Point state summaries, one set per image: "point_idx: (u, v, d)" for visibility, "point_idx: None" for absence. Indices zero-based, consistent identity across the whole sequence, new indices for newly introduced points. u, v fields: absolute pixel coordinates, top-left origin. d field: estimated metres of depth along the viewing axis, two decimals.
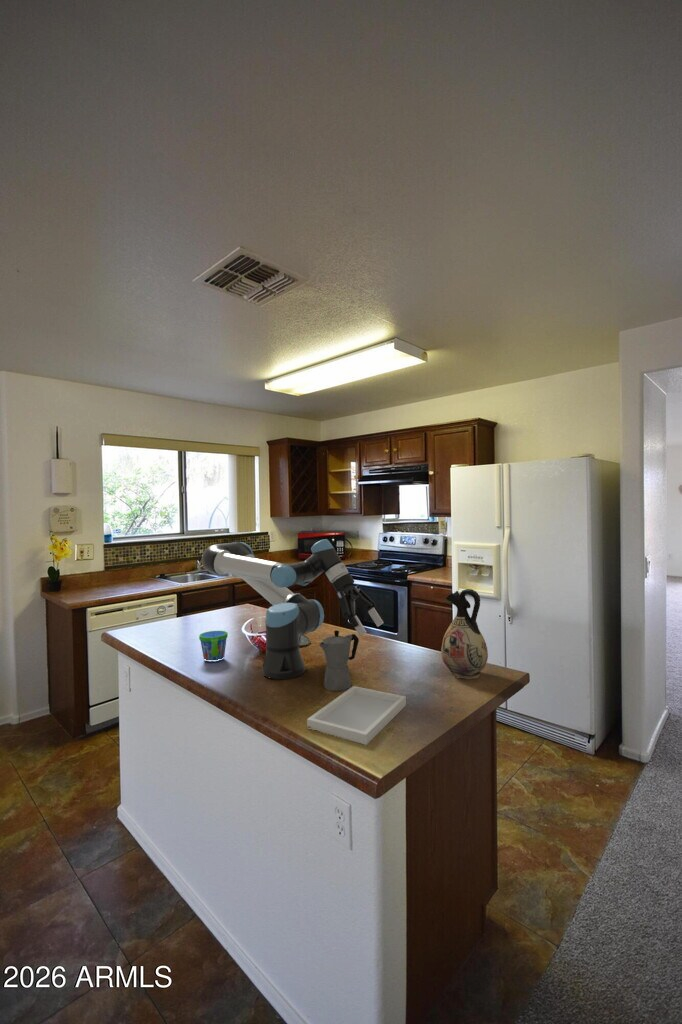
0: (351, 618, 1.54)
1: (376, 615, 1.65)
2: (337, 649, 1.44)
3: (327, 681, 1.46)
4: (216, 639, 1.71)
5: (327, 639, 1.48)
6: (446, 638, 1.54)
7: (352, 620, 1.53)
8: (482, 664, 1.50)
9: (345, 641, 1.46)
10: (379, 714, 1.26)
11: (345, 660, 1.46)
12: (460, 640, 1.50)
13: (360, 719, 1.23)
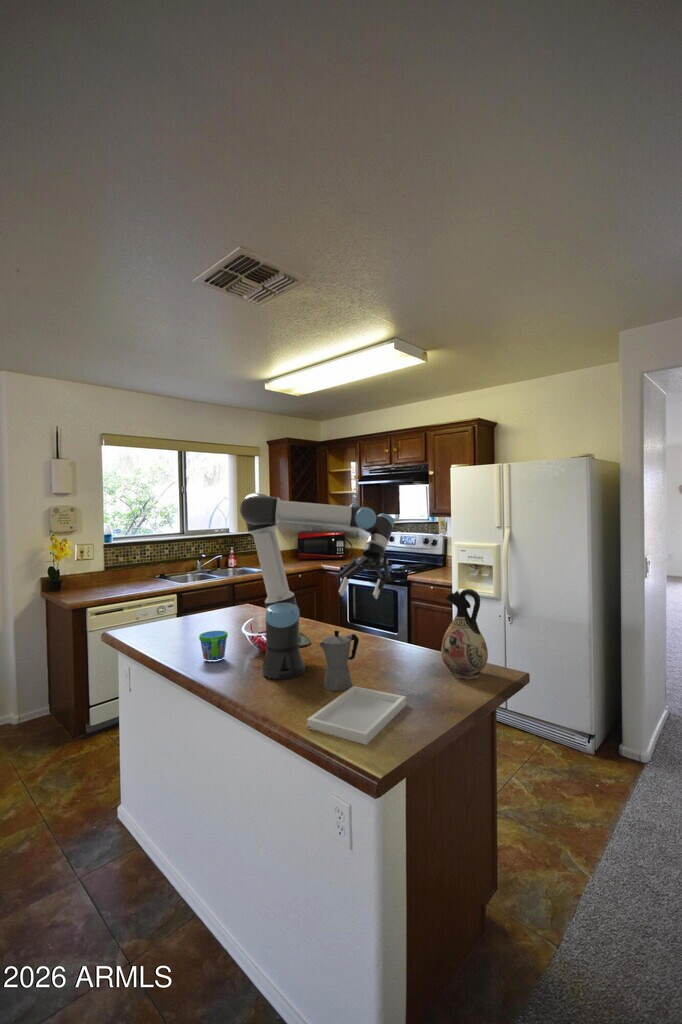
0: (384, 582, 1.59)
1: (345, 587, 1.66)
2: (337, 649, 1.44)
3: (327, 681, 1.46)
4: (216, 639, 1.71)
5: (327, 639, 1.48)
6: (446, 638, 1.54)
7: (383, 583, 1.59)
8: (482, 664, 1.50)
9: (345, 641, 1.46)
10: (379, 714, 1.26)
11: (345, 660, 1.46)
12: (460, 640, 1.50)
13: (360, 719, 1.23)
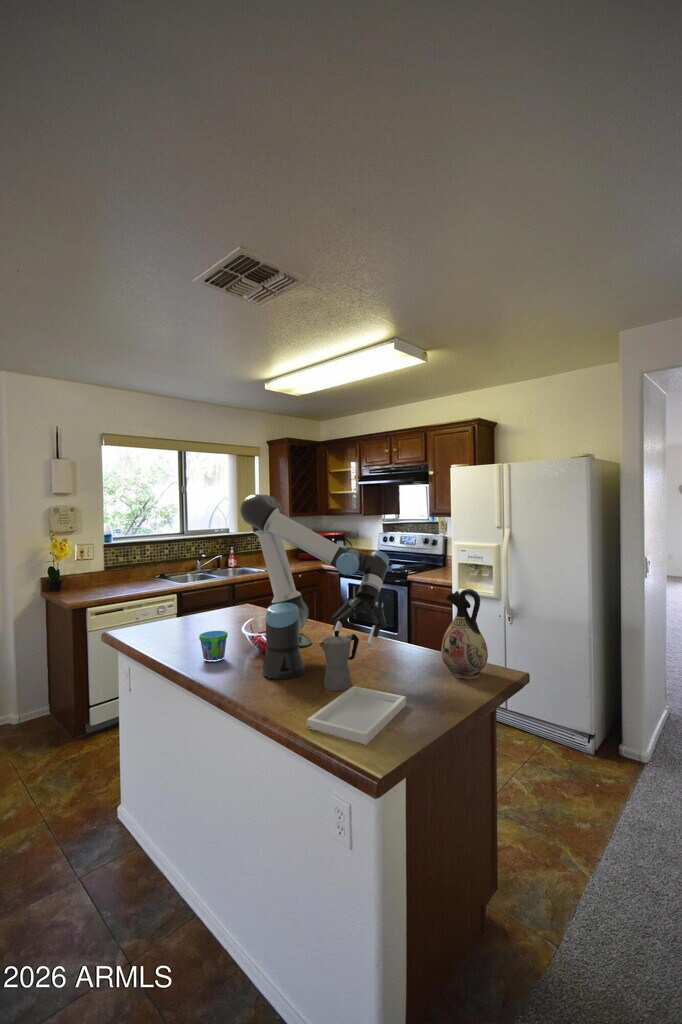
0: (379, 628, 1.52)
1: None
2: (337, 649, 1.44)
3: (327, 681, 1.46)
4: (216, 639, 1.71)
5: (327, 639, 1.48)
6: (446, 638, 1.54)
7: (378, 630, 1.52)
8: (482, 664, 1.50)
9: (345, 641, 1.46)
10: (379, 714, 1.26)
11: (345, 660, 1.46)
12: (460, 640, 1.50)
13: (360, 719, 1.23)
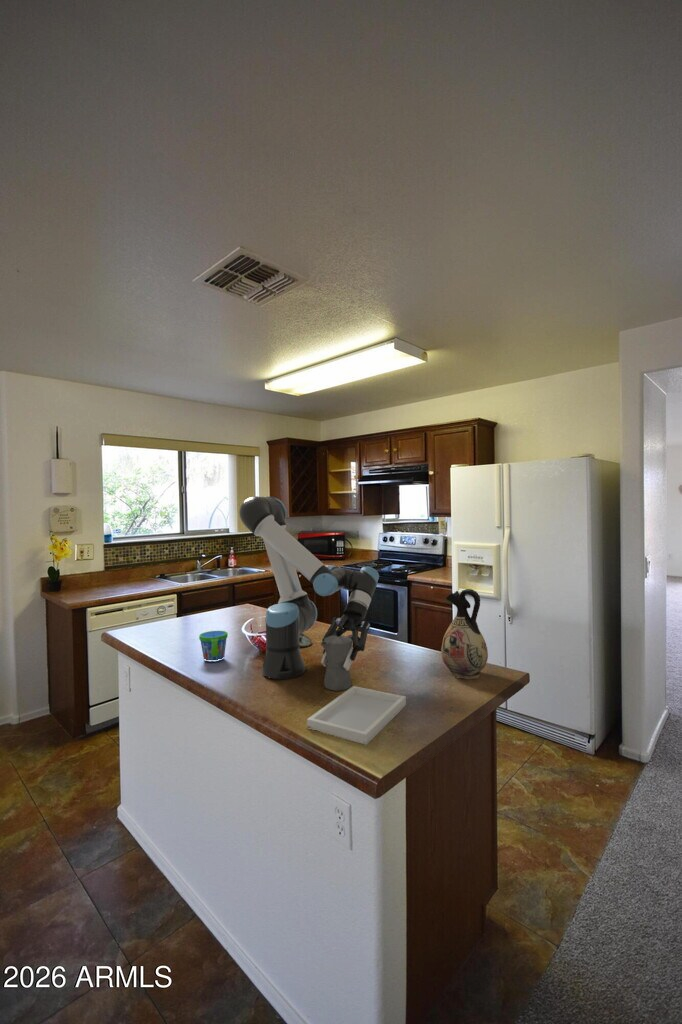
0: (356, 651, 1.47)
1: None
2: (339, 649, 1.44)
3: (327, 680, 1.46)
4: (216, 639, 1.71)
5: (329, 638, 1.47)
6: (446, 638, 1.54)
7: (356, 653, 1.47)
8: (482, 664, 1.50)
9: (347, 641, 1.46)
10: (379, 714, 1.26)
11: None
12: (460, 640, 1.50)
13: (360, 719, 1.23)
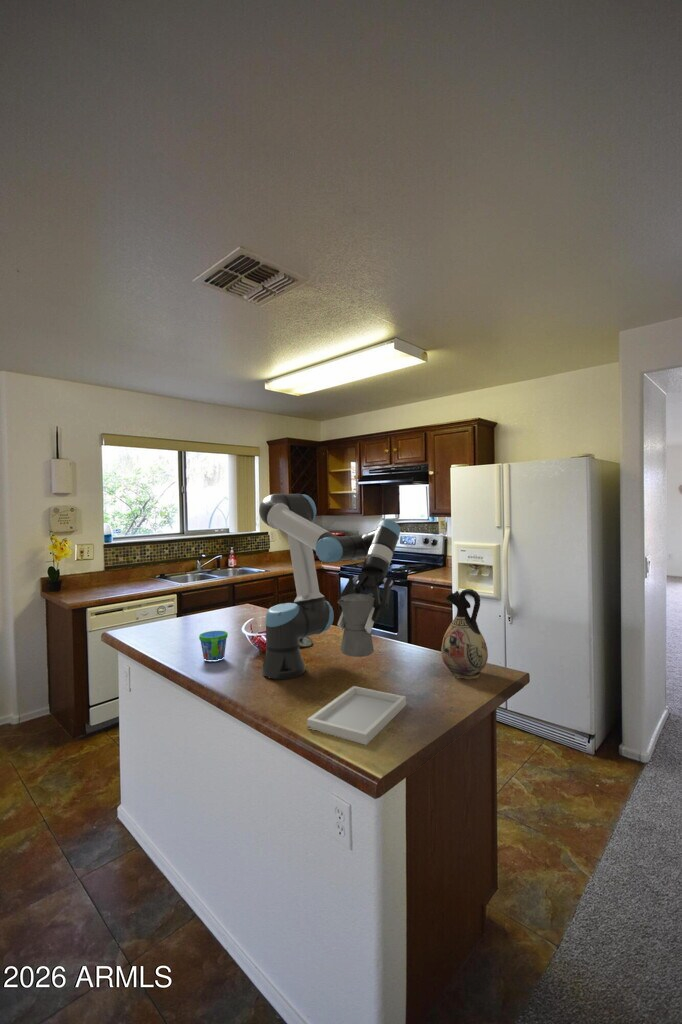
0: (379, 611, 1.25)
1: None
2: (359, 607, 1.22)
3: (346, 645, 1.24)
4: (216, 639, 1.71)
5: (347, 596, 1.25)
6: (446, 638, 1.54)
7: (378, 613, 1.25)
8: (482, 664, 1.50)
9: (368, 599, 1.24)
10: (379, 714, 1.26)
11: None
12: (460, 640, 1.50)
13: (360, 719, 1.23)
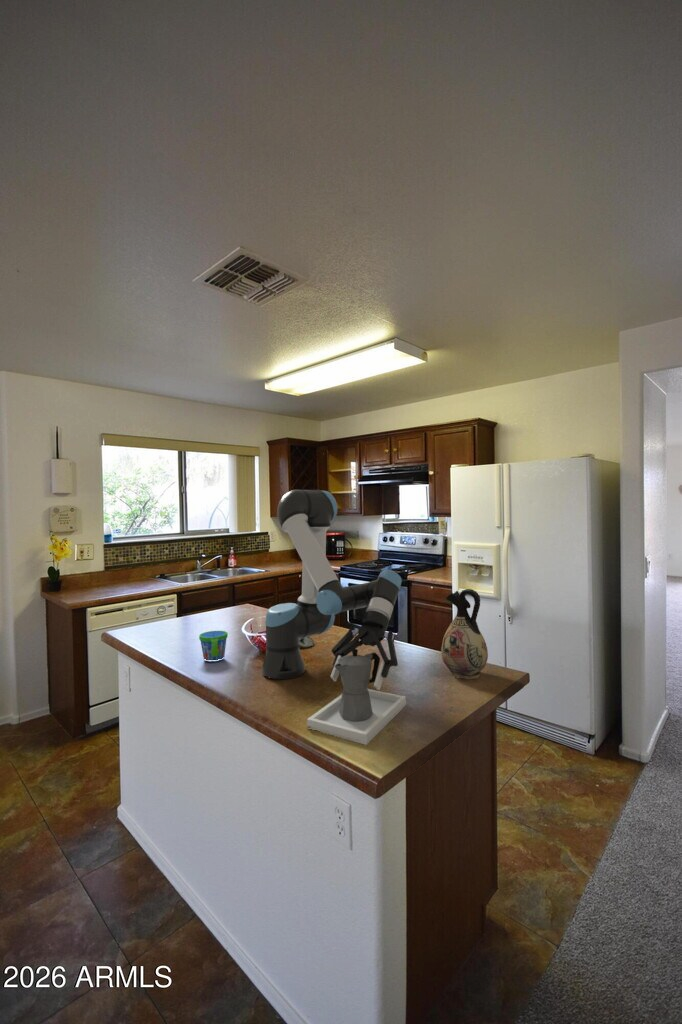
0: (389, 666, 1.24)
1: None
2: (357, 671, 1.22)
3: (344, 709, 1.23)
4: (216, 639, 1.71)
5: (344, 659, 1.25)
6: (446, 638, 1.54)
7: (388, 669, 1.24)
8: (482, 664, 1.50)
9: (365, 662, 1.23)
10: (379, 714, 1.26)
11: (365, 684, 1.24)
12: (460, 640, 1.50)
13: None
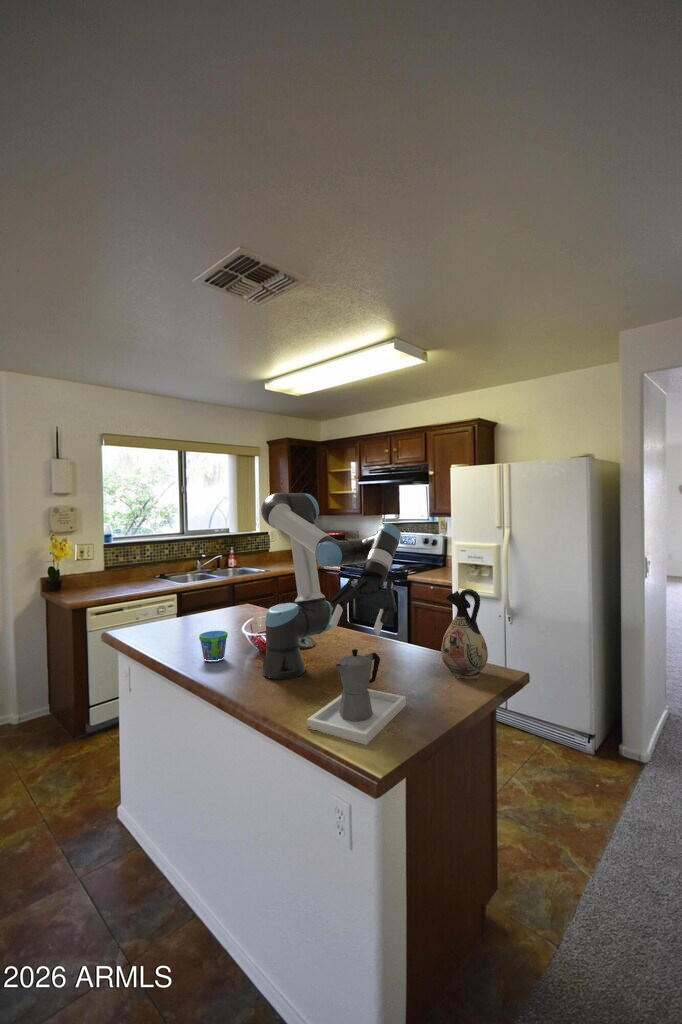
0: (388, 613, 1.24)
1: (338, 617, 1.30)
2: (357, 671, 1.22)
3: (344, 709, 1.23)
4: (216, 639, 1.71)
5: (344, 659, 1.25)
6: (446, 638, 1.54)
7: (387, 615, 1.24)
8: (482, 664, 1.50)
9: (365, 662, 1.23)
10: (379, 714, 1.26)
11: (365, 684, 1.24)
12: (460, 640, 1.50)
13: None
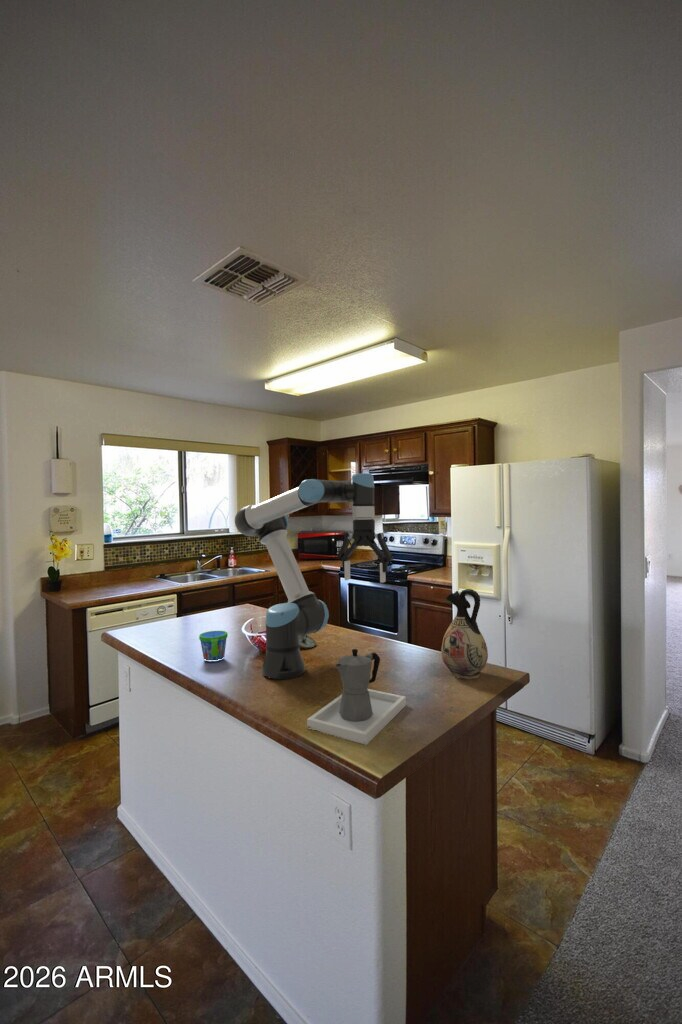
0: (387, 563, 1.52)
1: (349, 569, 1.60)
2: (357, 671, 1.22)
3: (344, 709, 1.23)
4: (216, 639, 1.71)
5: (344, 659, 1.25)
6: (446, 638, 1.54)
7: (386, 565, 1.52)
8: (482, 664, 1.50)
9: (365, 662, 1.23)
10: (379, 714, 1.26)
11: (365, 684, 1.24)
12: (460, 640, 1.50)
13: None
